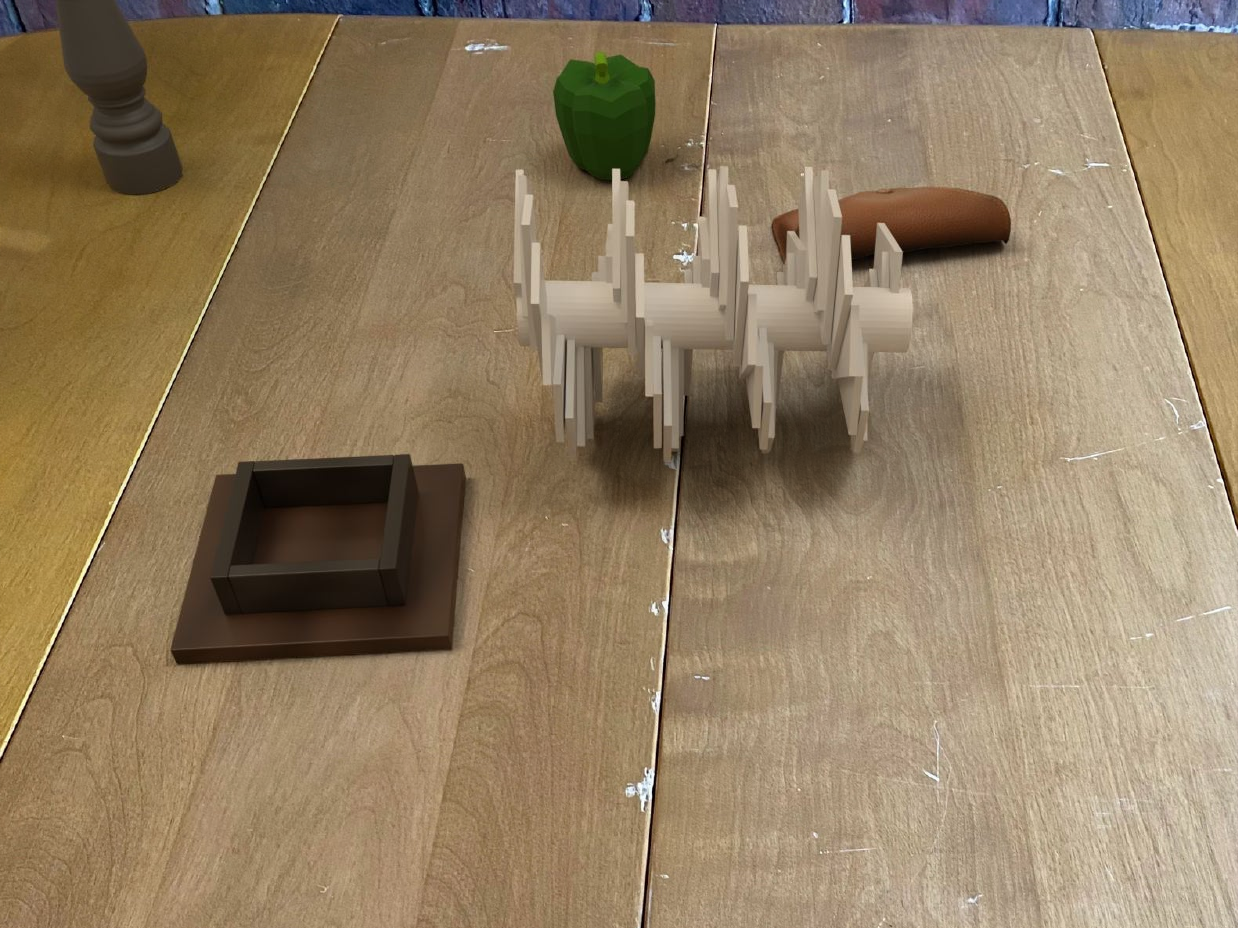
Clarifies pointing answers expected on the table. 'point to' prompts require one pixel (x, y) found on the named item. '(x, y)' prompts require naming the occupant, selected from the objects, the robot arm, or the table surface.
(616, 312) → the spiral staircase
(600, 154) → the bell pepper
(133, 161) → the grey baluster post
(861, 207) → the sunglasses case
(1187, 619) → the table surface
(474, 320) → the table surface
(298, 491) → the socket pad
